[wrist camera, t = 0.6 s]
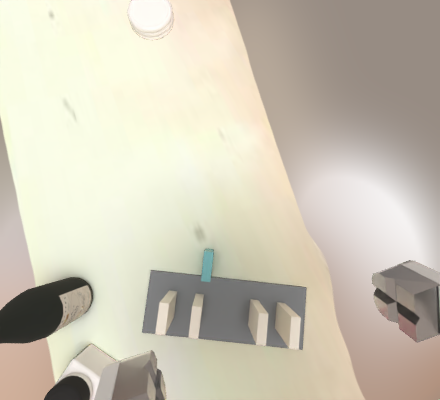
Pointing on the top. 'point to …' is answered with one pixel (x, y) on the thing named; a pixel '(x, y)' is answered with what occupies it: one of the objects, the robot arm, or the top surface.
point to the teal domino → (207, 265)
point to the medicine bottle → (81, 376)
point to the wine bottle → (44, 310)
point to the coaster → (151, 18)
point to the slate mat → (221, 306)
